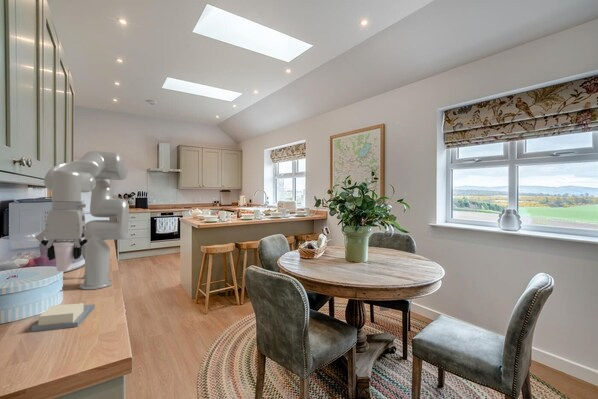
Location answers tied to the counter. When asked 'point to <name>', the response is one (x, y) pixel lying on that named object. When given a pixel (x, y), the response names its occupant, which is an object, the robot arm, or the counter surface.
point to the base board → (65, 325)
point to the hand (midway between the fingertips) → (64, 258)
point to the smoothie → (64, 254)
